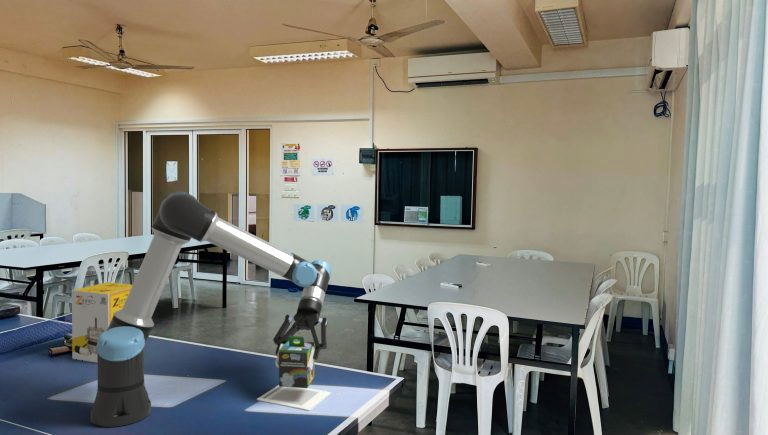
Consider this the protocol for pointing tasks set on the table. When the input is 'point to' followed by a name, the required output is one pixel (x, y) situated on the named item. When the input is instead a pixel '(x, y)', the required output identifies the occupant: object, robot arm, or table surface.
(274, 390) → the white tray
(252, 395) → the table surface
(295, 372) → the chalk box
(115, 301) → the packaging box
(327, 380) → the table surface
